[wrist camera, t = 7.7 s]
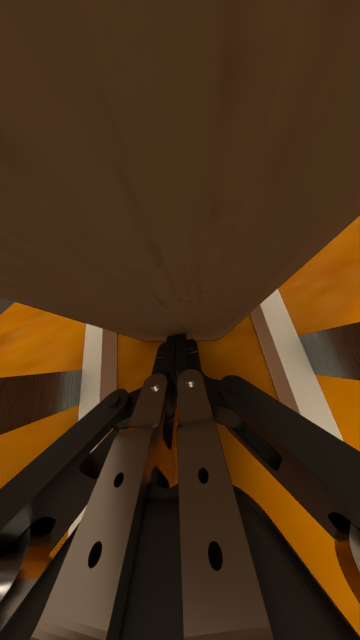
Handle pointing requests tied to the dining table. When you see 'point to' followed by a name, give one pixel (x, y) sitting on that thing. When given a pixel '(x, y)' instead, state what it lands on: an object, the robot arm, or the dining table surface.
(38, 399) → the arch
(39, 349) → the dining table surface
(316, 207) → the wooden block
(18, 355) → the dining table surface
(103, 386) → the walled lane
